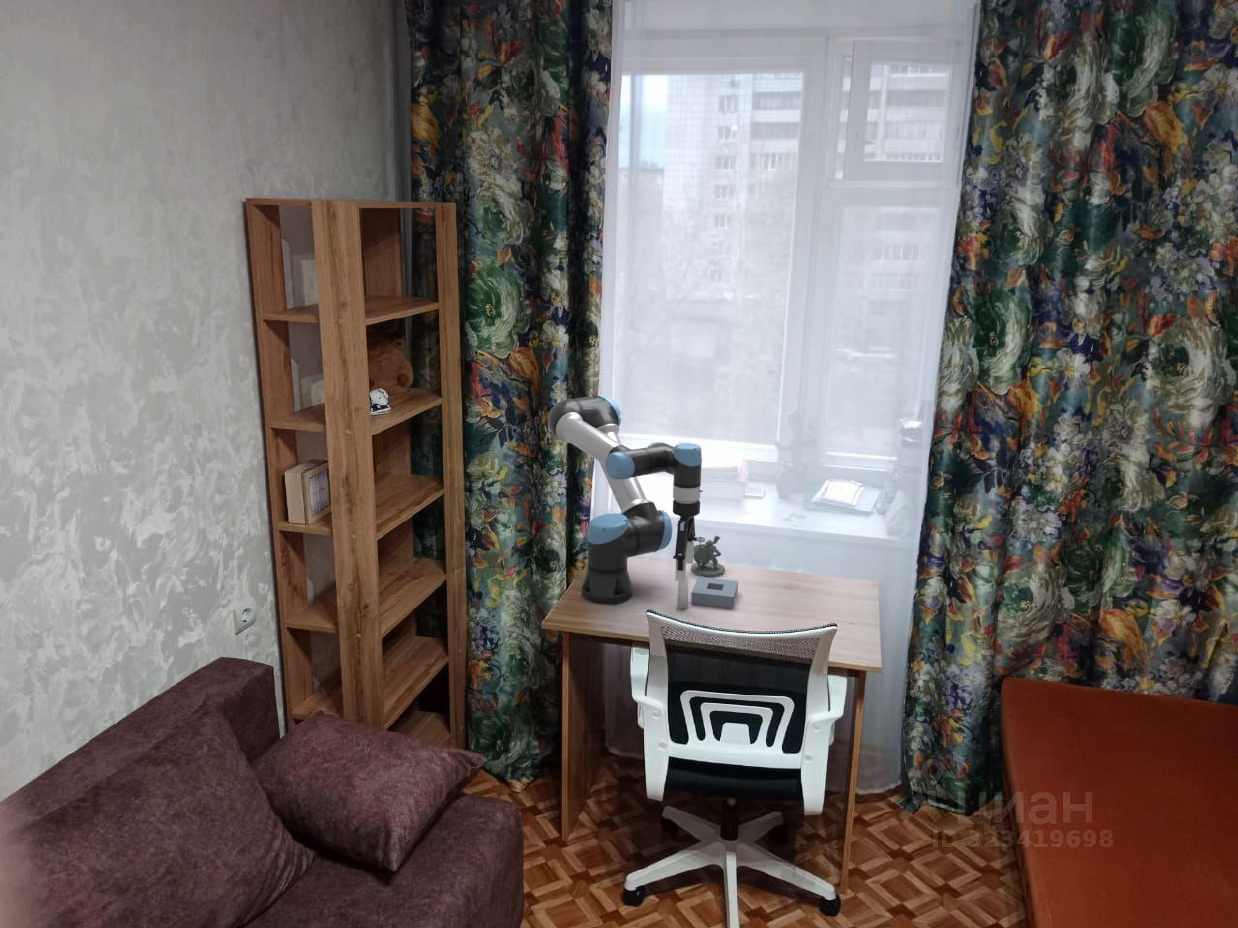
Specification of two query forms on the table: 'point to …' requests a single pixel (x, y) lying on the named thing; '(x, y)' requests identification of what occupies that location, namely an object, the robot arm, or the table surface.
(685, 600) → the peg
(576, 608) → the table surface
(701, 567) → the figurine
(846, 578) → the table surface
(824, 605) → the table surface
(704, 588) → the hole block
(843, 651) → the table surface
